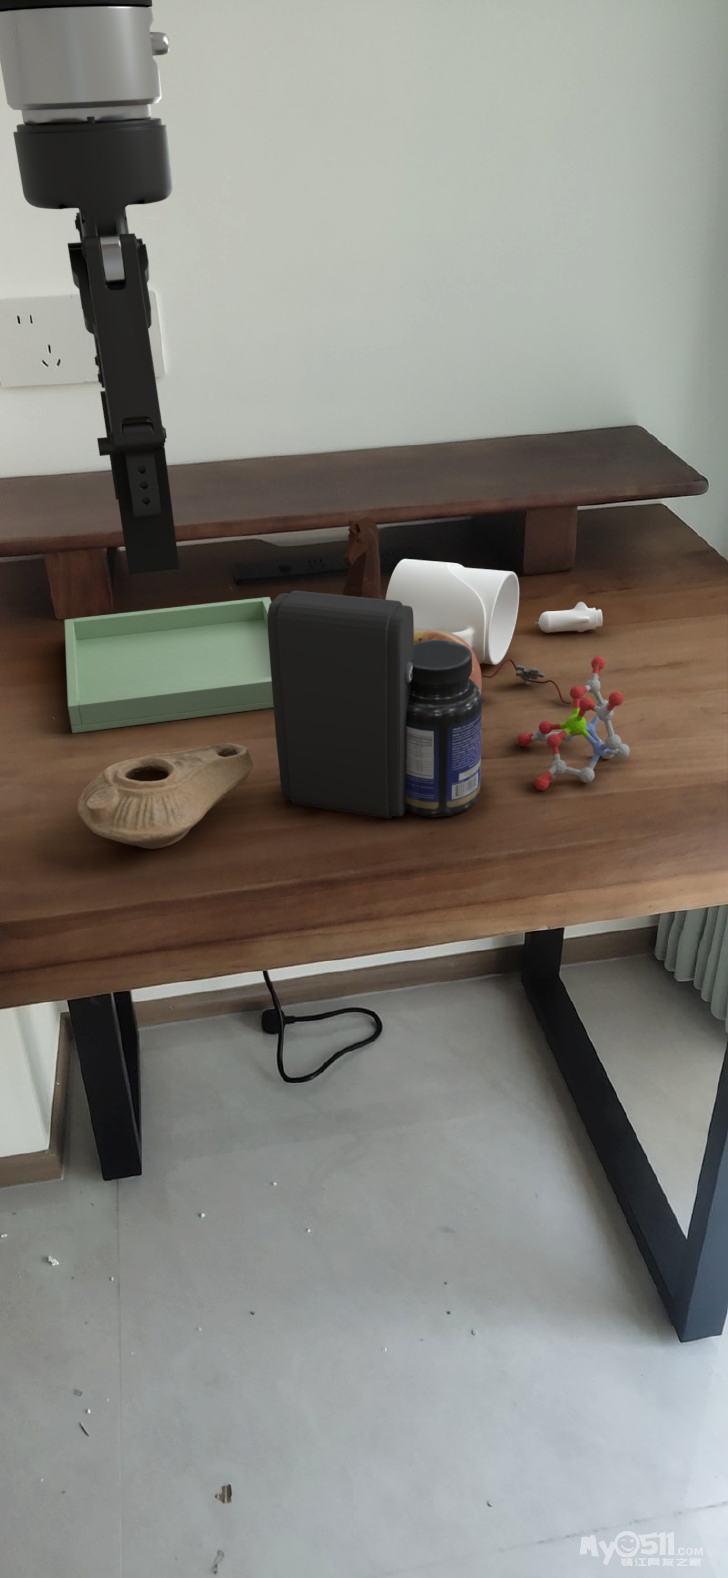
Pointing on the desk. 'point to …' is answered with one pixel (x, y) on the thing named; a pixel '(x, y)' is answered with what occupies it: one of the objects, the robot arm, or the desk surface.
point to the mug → (460, 603)
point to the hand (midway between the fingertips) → (144, 530)
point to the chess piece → (363, 559)
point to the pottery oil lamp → (161, 793)
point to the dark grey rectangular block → (341, 700)
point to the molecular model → (581, 730)
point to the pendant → (528, 676)
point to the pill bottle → (442, 731)
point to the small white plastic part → (571, 619)
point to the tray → (168, 664)
